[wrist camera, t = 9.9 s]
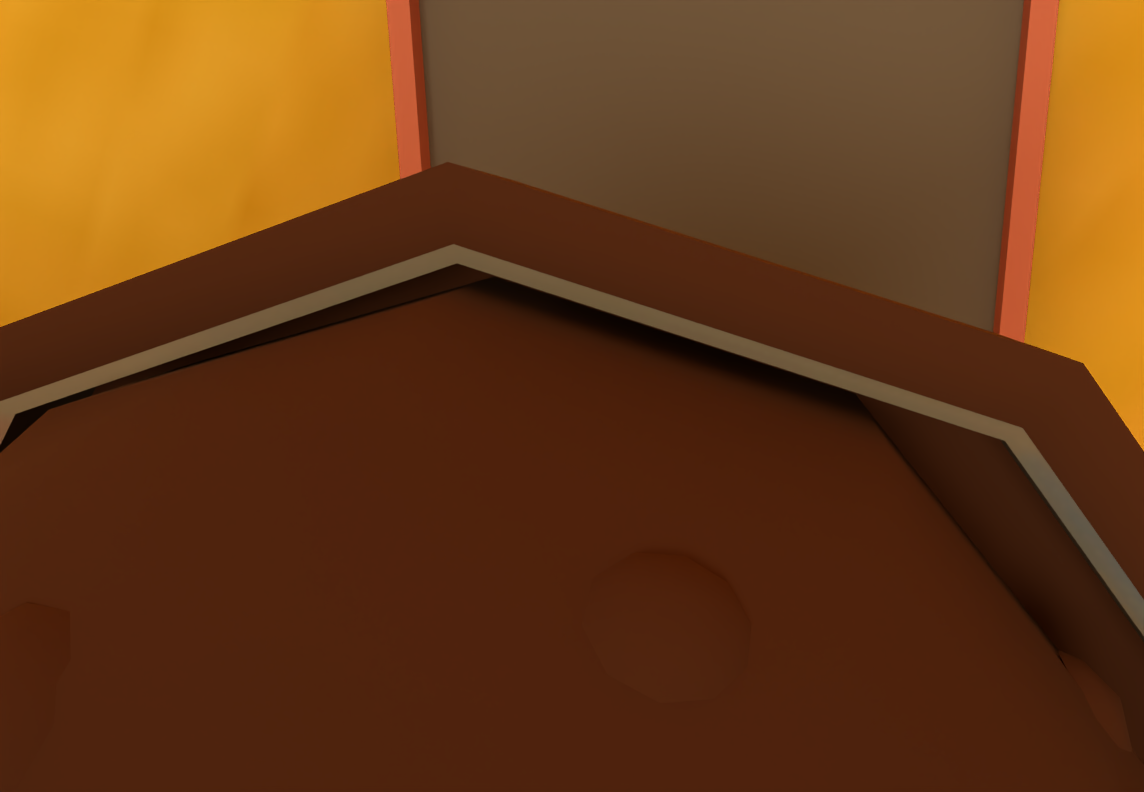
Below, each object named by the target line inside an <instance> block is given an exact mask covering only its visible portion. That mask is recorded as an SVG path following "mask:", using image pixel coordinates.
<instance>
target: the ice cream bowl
mask: <svg viewBox="0 0 1144 792" xmlns="http://www.w3.org/2000/svg"><path fill="white" fill-rule="evenodd" d="M0 792H1144V451H1143V450H1142V448H1141V447H1140V445H1139V444H1138V442H1137V441H1136V440H1135V438H1134V437H1133V435H1132V434H1131V432H1130V431H1129V429H1128V428H1127V426H1126V425H1125V424H1124V422H1123V421H1122V419H1121V418H1120V416H1119V415H1118V413H1117V412H1116V410H1115V409H1114V408H1113V406H1112V405H1111V403H1110V402H1109V400H1108V399H1107V397H1106V396H1105V394H1104V393H1103V392H1102V390H1101V389H1100V387H1099V386H1098V384H1097V383H1096V381H1095V380H1094V378H1093V377H1092V376H1091V374H1090V373H1089V371H1088V370H1087V368H1086V367H1085V365H1084V364H1083V363H1081V362H1078V361H1075V360H1072V359H1069V358H1066V357H1063V356H1060V355H1058V354H1055V353H1052V352H1049V351H1046V350H1043V349H1040V348H1037V347H1034V346H1031V345H1029V344H1026V343H1023V342H1020V341H1017V340H1014V339H1011V338H1008V337H1005V336H1003V335H1000V334H997V333H994V332H991V331H988V330H984V329H981V328H978V327H975V326H972V325H969V324H965V323H962V322H959V321H956V320H953V319H950V318H947V317H943V316H940V315H937V314H934V313H931V312H928V311H924V310H921V309H918V308H915V307H912V306H909V305H906V304H902V303H899V302H896V301H893V300H890V299H887V298H883V297H880V296H877V295H874V294H871V293H868V292H865V291H861V290H858V289H855V288H852V287H849V286H846V285H842V284H839V283H836V282H833V281H830V280H827V279H824V278H820V277H817V276H814V275H811V274H808V273H805V272H801V271H798V270H795V269H792V268H789V267H786V266H782V265H779V264H776V263H773V262H770V261H767V260H764V259H760V258H757V257H754V256H751V255H748V254H745V253H741V252H738V251H735V250H732V249H729V248H726V247H723V246H719V245H716V244H713V243H710V242H707V241H704V240H700V239H697V238H694V237H691V236H688V235H685V234H682V233H678V232H675V231H672V230H669V229H666V228H663V227H659V226H656V225H653V224H650V223H647V222H644V221H641V220H637V219H634V218H631V217H628V216H625V215H622V214H618V213H615V212H612V211H609V210H606V209H603V208H600V207H596V206H593V205H590V204H587V203H584V202H581V201H577V200H574V199H571V198H568V197H565V196H562V195H558V194H555V193H552V192H549V191H546V190H543V189H540V188H536V187H533V186H530V185H527V184H524V183H521V182H517V181H514V180H511V179H507V178H504V177H500V176H497V175H493V174H490V173H486V172H482V171H479V170H475V169H472V168H468V167H464V166H461V165H457V164H454V163H450V162H446V163H443V164H440V165H438V166H435V167H432V168H429V169H427V170H424V171H421V172H419V173H416V174H413V175H411V176H408V177H405V178H402V179H400V180H397V181H394V182H392V183H389V184H386V185H384V186H381V187H378V188H375V189H373V190H370V191H367V192H365V193H362V194H359V195H356V196H354V197H351V198H348V199H346V200H343V201H340V202H338V203H335V204H332V205H329V206H327V207H324V208H321V209H319V210H316V211H313V212H311V213H308V214H305V215H302V216H300V217H297V218H294V219H292V220H289V221H286V222H284V223H281V224H278V225H275V226H273V227H270V228H267V229H265V230H262V231H259V232H257V233H254V234H251V235H248V236H246V237H243V238H240V239H238V240H235V241H232V242H230V243H227V244H224V245H221V246H219V247H216V248H213V249H211V250H208V251H205V252H202V253H200V254H197V255H194V256H192V257H189V258H186V259H184V260H181V261H178V262H175V263H173V264H170V265H167V266H165V267H162V268H159V269H157V270H154V271H151V272H148V273H146V274H143V275H140V276H138V277H135V278H132V279H130V280H127V281H124V282H121V283H119V284H116V285H113V286H111V287H108V288H105V289H103V290H100V291H97V292H94V293H92V294H89V295H86V296H84V297H81V298H78V299H76V300H73V301H70V302H67V303H65V304H62V305H59V306H57V307H54V308H51V309H48V310H46V311H43V312H40V313H38V314H35V315H32V316H30V317H27V318H24V319H21V320H19V321H16V322H13V323H11V324H8V325H5V326H3V327H0Z"/></svg>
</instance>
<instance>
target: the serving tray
mask: <svg viewBox="0 0 1144 792" xmlns="http://www.w3.org/2000/svg"><path fill="white" fill-rule="evenodd" d="M386 4H387V17H388V29H389V42H390V54H391V67H392V79H393V92H394V105H395V117H396V130H397V142H398V155H399V167H400V179H402V178H405V177H408V176H411V175H413V174H416V173H419V172H421V171H424V170H427V169H429V168H432V167H435V166H438V165H440V164H443V163H446V162H450V163H454V164H457V165H461V166H464V167H468V168H472V169H475V170H479V171H482V172H486V173H490V174H493V175H497V176H500V177H504V178H507V179H511V180H514V181H517V182H521V183H524V184H527V185H530V186H533V187H536V188H540V189H543V190H546V191H549V192H552V193H555V194H558V195H562V196H565V197H568V198H571V199H574V200H577V201H581V202H584V203H587V204H590V205H593V206H596V207H600V208H603V209H606V210H609V211H612V212H615V213H618V214H622V215H625V216H628V217H631V218H634V219H637V220H641V221H644V222H647V223H650V224H653V225H656V226H659V227H663V228H666V229H669V230H672V231H675V232H678V233H682V234H685V235H688V236H691V237H694V238H697V239H700V240H704V241H707V242H710V243H713V244H716V245H719V246H723V247H726V248H729V249H732V250H735V251H738V252H741V253H745V254H748V255H751V256H754V257H757V258H760V259H764V260H767V261H770V262H773V263H776V264H779V265H782V266H786V267H789V268H792V269H795V270H798V271H801V272H805V273H808V274H811V275H814V276H817V277H820V278H824V279H827V280H830V281H833V282H836V283H839V284H842V285H846V286H849V287H852V288H855V289H858V290H861V291H865V292H868V293H871V294H874V295H877V296H880V297H883V298H887V299H890V300H893V301H896V302H899V303H902V304H906V305H909V306H912V307H915V308H918V309H921V310H924V311H928V312H931V313H934V314H937V315H940V316H943V317H947V318H950V319H953V320H956V321H959V322H962V323H965V324H969V325H972V326H975V327H978V328H981V329H984V330H988V331H991V332H994V333H997V334H1000V335H1003V336H1005V337H1008V338H1011V339H1014V340H1017V341H1020V342H1023V343H1024V337H1025V327H1026V318H1027V308H1028V298H1029V288H1030V279H1031V269H1032V259H1033V249H1034V240H1035V230H1036V220H1037V210H1038V201H1039V191H1040V181H1041V171H1042V162H1043V152H1044V142H1045V132H1046V123H1047V113H1048V103H1049V93H1050V84H1051V74H1052V64H1053V54H1054V45H1055V35H1056V25H1057V15H1058V6H1059V0H386Z"/></svg>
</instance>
